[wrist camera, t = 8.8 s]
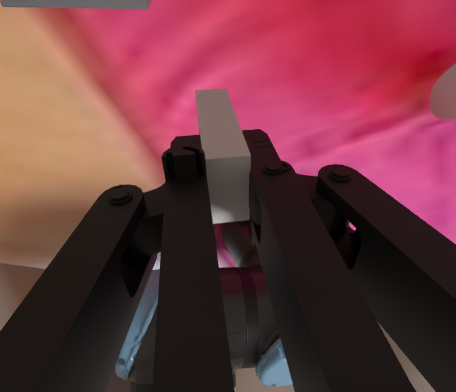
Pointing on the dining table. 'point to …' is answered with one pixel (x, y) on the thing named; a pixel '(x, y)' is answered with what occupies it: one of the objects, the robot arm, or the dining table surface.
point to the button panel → (79, 4)
